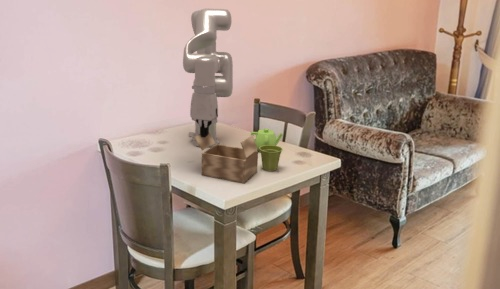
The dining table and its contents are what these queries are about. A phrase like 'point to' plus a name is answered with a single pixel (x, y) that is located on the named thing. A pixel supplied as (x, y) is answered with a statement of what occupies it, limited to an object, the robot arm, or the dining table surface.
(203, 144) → the flap
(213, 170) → the carton
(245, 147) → the flap
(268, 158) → the plant pot
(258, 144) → the teapot
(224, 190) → the dining table surface
